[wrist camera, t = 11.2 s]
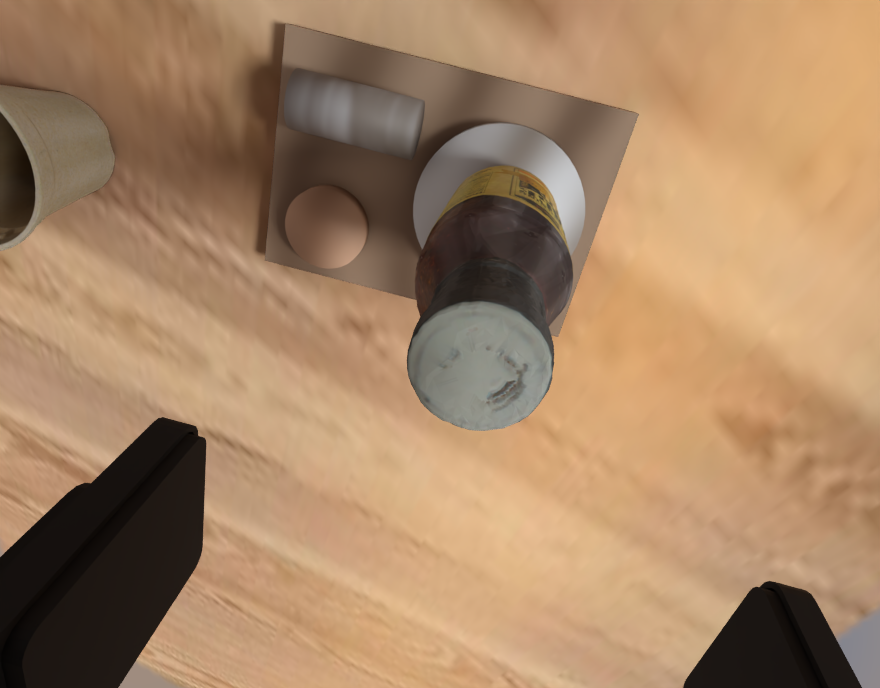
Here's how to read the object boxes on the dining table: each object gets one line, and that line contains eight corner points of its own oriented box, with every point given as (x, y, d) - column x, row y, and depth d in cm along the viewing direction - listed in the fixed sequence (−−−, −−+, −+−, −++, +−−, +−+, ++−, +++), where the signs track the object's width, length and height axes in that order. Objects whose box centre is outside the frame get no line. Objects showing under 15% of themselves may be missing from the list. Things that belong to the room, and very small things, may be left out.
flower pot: (1, 185, 39) (-127, 215, 31) (-1, 38, 35) (-149, 30, 27) (132, 235, 39) (38, 277, 32) (147, 96, 35) (42, 105, 27)
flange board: (634, 112, 32) (650, 118, 28) (557, 329, 38) (561, 359, 35) (293, 24, 32) (262, 19, 28) (271, 255, 39) (243, 276, 35)
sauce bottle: (566, 251, 34) (625, 462, 16) (465, 277, 35) (416, 497, 17) (541, 139, 31) (577, 244, 13) (433, 173, 33) (337, 307, 15)
